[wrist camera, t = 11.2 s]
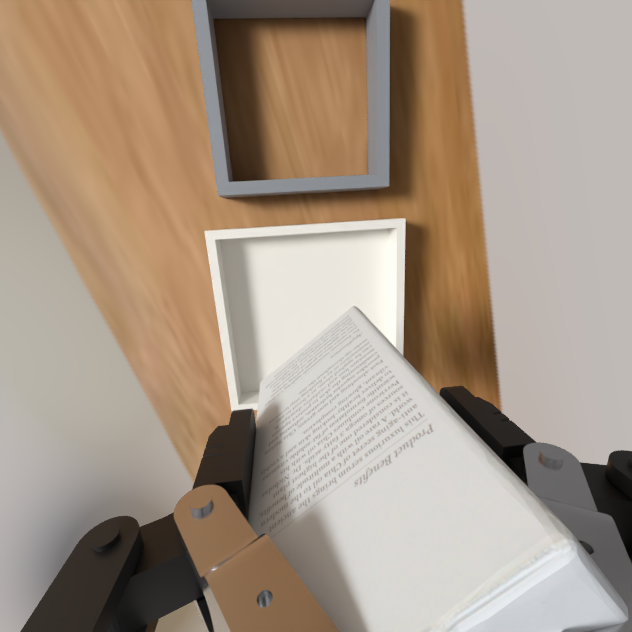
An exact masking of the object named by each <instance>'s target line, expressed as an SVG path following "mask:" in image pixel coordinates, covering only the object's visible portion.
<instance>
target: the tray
mask: <svg viewBox="0 0 632 632" xmlns="http://www.w3.org/2000/svg"><path fill="white" fill-rule="evenodd" d="M405 224H406V218H393V219H378V220H362V221H346V222H331V223H315V224H299V225H283V226H268V227H252V228H236V229H221V230H209V231H205V238H206V244H207V251H208V257H209V264H210V271H211V277H212V284H213V291H214V297H215V304H216V310H217V317H218V324H219V330H220V337H221V344H222V350H223V357H224V363H225V370H226V377H227V383H228V390H229V397H230V403H231V410H232V411H233V410H242V409H251V408H253V410H258V400H259V391H260V383H261V381H262V380H264V379H265V378H266V377H267V376H269V375H270V374H271V373H272V372H274V371H275V370H276V369H277V368H278V367H280V366H281V365H282V364H283V363H285V362H286V361H287V360H288V359H289V358H290V357H292V356H293V355H294V354H295V353H297V352H298V351H299V350H300V349H301V348H303V347H304V346H305V345H306V344H307V343H309V342H310V341H311V340H312V339H313V338H315V337H316V336H317V335H318V334H320V333H321V332H322V331H323V330H324V329H326V328H327V327H328V326H329V325H330V324H332V323H333V322H334V321H335V320H337V319H338V318H339V317H340V316H341V315H343V314H344V313H345V312H346V311H347V310H349V309H350V308H351V307H352V306H356V307H358V308H359V309H360V310H361V311H362V312H363V313H364V314H365V315H366V316H367V318H368V319H369V320H370V321H371V322H372V323H373V324H374V325H375V326H376V327H377V328H378V329H379V330H380V331H381V333H382V334H383V335H384V336H385V337H386V338H387V339H388V340H389V341H390V342H391V343H392V344H393V345H394V347H395V348H396V349H397V350H398V351H399V352H400V353H401V354H402V355H403V341H404V282H405Z"/></svg>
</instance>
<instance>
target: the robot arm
mask: <svg viewBox="0 0 632 632" xmlns="http://www.w3.org/2000/svg"><path fill="white" fill-rule="evenodd" d="M440 396H441V397H442V398H443V399H444V400H445V401H446V402H447V403H448V404H449V405H450V407H451V408H452V409H453V410H454V411H455V412H456V413H457V414H458V415H459V416H460V417H461V418H462V419H463V420H464V421H465V422H466V423H467V424H468V425H469V426H470V427H471V428H472V429H473V431H474V432H475V433H476V434H477V435H478V436H479V437H480V438H481V439H482V440H483V441H484V442H485V443H486V444H487V445H488V446H489V447H490V448H491V449H492V450H493V451H494V452H495V453H496V455H497V456H498V457H499V458H500V459H501V460H502V461H503V462H504V463H505V464H506V465H507V466H508V467H509V468H510V469H511V470H512V471H513V472H514V473H515V474H516V475H517V476H518V477H519V478H520V479H521V480H522V481H523V482H524V483H525V484H526V485H527V487H528V488H529V489H530V490H531V491H532V492H533V493H534V494H535V495H536V496H537V497H538V498H539V499H540V500H541V501H542V502H543V503H544V504H545V505H546V506H547V507H548V508H549V509H550V510H551V511H552V512H553V513H554V514H555V515H556V516H557V517H558V518H559V519H560V520H561V522H562V523H563V524H564V525H565V526H566V527H567V528H568V529H569V530H570V531H571V532H572V534H573V535H574V536H575V537H576V538H577V540H578V541H579V542H580V544H581V545H582V546H583V547H584V549H585V550H586V551H587V552H588V554H589V555H590V557H591V558H592V559H593V561H594V562H595V563H596V565H597V566H598V567H599V569H600V570H601V571H602V573H603V574H604V575H605V577H606V578H607V579H608V581H609V582H610V583H611V585H612V586H613V587H614V589H615V590H616V591H617V593H618V594H619V595H620V597H621V598H622V599H623V601H624V602H625V604H626V606H627V607H628V620H627V621H625V622H624V623H620V624H616V625H612V626H607V627H603V628H599V629H594V630H590V631H585V632H632V451H622V450H621V451H614V452H612V453H611V454H610V455H609V459H608V463H607V465H598V464H589V463H580V462H579V461H578V460H577V459H576V458H575V457H574V456H573V455H572V454H571V453H569V452H567V451H566V450H564V449H562V448H560V447H557V446H554V445H551V444H547V443H537V442H535V441H534V440H533V439H532V438H531V437H530V436H528V435H527V434H526V433H524V431H523V430H521V429H520V428H519V427H518V426H517V425H516V424H515V423H513V422H512V421H510V420H509V418H508V417H506V416H505V415H504V414H502V413H501V411H500V410H498V409H497V408H496V407H495V406H494V405H493V404H491V403H489V402H487V401H485V400H483V399H481V398H479V397H474V396H473V395H472V394H471V393H470V392H469V391H468V390H467V389H466V388H465V387H463V386H454V387H445V388H442V389H441V390H440ZM255 436H256V424H255V417H254V411H253V408H251V409H242V410H233V411H232V414H231V418H230V422H229V425H225V426H218V427H217V428H216V429H215V430H214V431H213V432H212V434H211V435H210V436H209V439H208V442H207V445H206V449H205V451H204V454H203V458H202V460H201V464H200V467H199V470H198V473H197V476H196V479H195V482H194V486H193V489H192V490H191V491H189V492H188V493H187V494H186V495H184V496H183V497H182V498H181V499H180V500H179V501H178V503H177V505H176V507H175V509H174V512H173V513H172V514H170V515H168V516H166V517H164V518H162V519H159V520H157V521H154V522H152V523H149V524H146V525H144V526H141V527H139V524H138V522H137V520H136V519H134V518H132V517H130V516H119V517H115V518H111V519H109V520H106V521H104V522H102V523H100V524H99V525H97V526H95V527H94V528H93V529H91V530H90V531H89V532H88V533H87V534H86V535H84V537H83V538H82V539H81V540H80V541H79V543H78V544H77V545H76V547H75V548H74V550H73V551H72V553H71V555H70V556H69V558H68V559H67V561H66V562H65V564H64V565H63V567H62V569H61V570H60V571H59V573H58V575H57V576H56V578H55V579H54V581H53V583H52V584H51V585H50V587H49V588H48V590H47V592H46V593H45V595H44V596H43V598H42V600H41V601H40V602H39V604H38V606H37V607H36V608H35V610H34V612H33V613H32V615H31V616H30V618H29V619H28V621H27V622H26V624H25V625H24V627H23V629H22V630H21V632H155V629H156V625H157V623H158V619H159V618H161V617H163V616H165V615H166V614H169V613H171V612H173V611H175V610H177V609H179V608H181V607H183V606H185V605H187V604H188V603H190V602H192V601H194V602H195V605H196V607H197V610H198V612H199V615H200V617H201V620H202V622H203V625H204V627H205V630H206V632H339V630H338V629H337V628H336V626H335V625H334V624H333V622H332V621H331V619H330V618H329V617H328V615H327V614H326V613H325V611H324V610H323V609H322V607H321V606H320V605H319V603H318V602H317V600H316V599H315V598H314V596H313V595H312V594H311V592H310V591H309V590H308V588H307V587H306V586H305V584H304V583H303V581H302V580H301V579H300V577H299V576H298V575H297V573H296V572H295V571H294V569H293V568H292V567H291V565H290V564H289V563H288V561H287V560H286V558H285V557H284V556H283V554H282V553H281V552H280V550H279V549H278V548H277V546H276V545H275V544H274V542H273V541H272V540H271V538H270V537H269V536H268V535H267V534H265V533H264V534H262V535H260V536H259V537H258V536H257V534H256V533H255V532H254V530H253V529H252V527H251V526H250V524H249V523H248V511H249V501H250V490H251V478H252V467H253V457H254V447H255ZM562 632H563V631H562Z"/></svg>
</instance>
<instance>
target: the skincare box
mask: <svg viewBox="0 0 632 632" xmlns="http://www.w3.org/2000/svg"><path fill="white" fill-rule="evenodd" d="M248 523H249V524H250V526H251V527H252V529H253V530H254V532H255V533H256V534H257V536H258V537H259V536H260V535H262V534H264V533H265V534H267V535H268V536H269V537H270V538H271V540H272V541H273V542H274V544H275V545H276V546H277V548H278V549H279V550H280V552H281V553H282V554H283V556H284V557H285V558H286V560H287V561H288V563H289V564H290V565H291V567H292V568H293V569H294V571H295V572H296V573H297V575H298V576H299V577H300V579H301V580H302V581H303V583H304V584H305V586H306V587H307V588H308V590H309V591H310V592H311V594H312V595H313V596H314V598H315V599H316V600H317V602H318V603H319V605H320V606H321V607H322V609H323V610H324V611H325V613H326V614H327V615H328V617H329V618H330V619H331V621H332V622H333V624H334V625H335V626H336V628H337V629H338V630H339V632H562V631H563V632H585V631H590V630H594V629H599V628H603V627H607V626H612V625H616V624H620V623H624V622H625V621H627V620H628V607H627V606H626V604H625V602H624V601H623V599H622V598H621V597H620V595H619V594H618V593H617V591H616V590H615V589H614V587H613V586H612V585H611V583H610V582H609V581H608V579H607V578H606V577H605V575H604V574H603V573H602V571H601V570H600V569H599V567H598V566H597V565H596V563H595V562H594V561H593V559H592V558H591V557H590V555H589V554H588V552H587V551H586V550H585V549H584V547H583V546H582V545H581V544H580V542H579V541H578V540H577V538H576V537H575V536H574V535H573V534H572V532H571V531H570V530H569V529H568V528H567V527H566V526H565V525H564V524H563V523H562V522H561V520H560V519H559V518H558V517H557V516H556V515H555V514H554V513H553V512H552V511H551V510H550V509H549V508H548V507H547V506H546V505H545V504H544V503H543V502H542V501H541V500H540V499H539V498H538V497H537V496H536V495H535V494H534V493H533V492H532V491H531V490H530V489H529V488H528V487H527V485H526V484H525V483H524V482H523V481H522V480H521V479H520V478H519V477H518V476H517V475H516V474H515V473H514V472H513V471H512V470H511V469H510V468H509V467H508V466H507V465H506V464H505V463H504V462H503V461H502V460H501V459H500V458H499V457H498V456H497V455H496V453H495V452H494V451H493V450H492V449H491V448H490V447H489V446H488V445H487V444H486V443H485V442H484V441H483V440H482V439H481V438H480V437H479V436H478V435H477V434H476V433H475V432H474V431H473V429H472V428H471V427H470V426H469V425H468V424H467V423H466V422H465V421H464V420H463V419H462V418H461V417H460V416H459V415H458V414H457V413H456V412H455V411H454V410H453V409H452V408H451V407H450V405H449V404H448V403H447V402H446V401H445V400H444V399H443V398H442V397H441V396H440V395H439V394H438V393H437V392H436V390H435V389H434V388H433V387H432V386H431V385H430V384H429V383H428V382H427V381H426V380H425V379H424V378H423V377H422V375H421V374H420V373H419V372H418V371H417V370H416V369H415V368H414V367H413V366H412V365H411V364H410V363H409V362H408V361H407V360H406V359H405V357H404V356H403V355H402V354H401V353H400V352H399V351H398V350H397V349H396V348H395V347H394V345H393V344H392V343H391V342H390V341H389V340H388V339H387V338H386V337H385V336H384V335H383V334H382V333H381V331H380V330H379V329H378V328H377V327H376V326H375V325H374V324H373V323H372V322H371V321H370V320H369V319H368V318H367V316H366V315H365V314H364V313H363V312H362V311H361V310H360V309H359V308H358V307H356V306H352V307H351V308H350V309H349V310H347V311H346V312H345V313H344V314H343V315H341V316H340V317H339V318H338V319H337V320H335V321H334V322H333V323H332V324H330V325H329V326H328V327H327V328H326V329H324V330H323V331H322V332H321V333H320V334H318V335H317V336H316V337H315V338H313V339H312V340H311V341H310V342H309V343H307V344H306V345H305V346H304V347H303V348H301V349H300V350H299V351H298V352H297V353H295V354H294V355H293V356H292V357H290V358H289V359H288V360H287V361H286V362H285V363H283V364H282V365H281V366H280V367H278V368H277V369H276V370H275V371H274V372H272V373H271V374H270V375H269V376H267V377H266V378H265V379H264V380H262V381H261V383H260V391H259V400H258V412H257V423H256V436H255V447H254V457H253V467H252V478H251V490H250V501H249V511H248Z"/></svg>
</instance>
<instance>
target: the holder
mask: <svg viewBox="0 0 632 632" xmlns="http://www.w3.org/2000/svg"><path fill="white" fill-rule="evenodd" d="M191 1H192V8H193V15H194V23H195V30H196V38H197V45H198V52H199V60H200V67H201V74H202V82H203V89H204V97H205V104H206V111H207V119H208V126H209V133H210V141H211V148H212V155H213V163H214V170H215V178H216V185H217V192H218V196H220V197H223V198H233V197H251V196H269V195H287V194H305V193H323V192H340V191H358V190H376V189H382V188H385V187H388V186H389V126H390V0H191ZM339 17H366V36H367V112H368V175H354V176H335V177H315V178H296V179H277V180H257V181H238V182H233V177H232V168H231V160H230V152H229V144H228V136H227V127H226V119H225V111H224V103H223V95H222V86H221V78H220V70H219V62H218V54H217V45H216V37H215V29H214V21H213V19H236V18H339Z"/></svg>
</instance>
